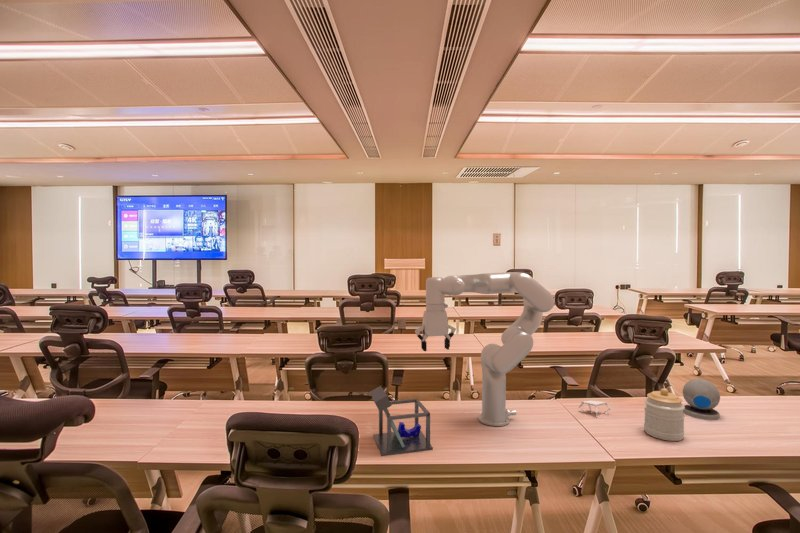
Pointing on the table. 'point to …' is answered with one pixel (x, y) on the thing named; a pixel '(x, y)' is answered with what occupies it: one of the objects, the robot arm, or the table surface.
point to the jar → (664, 415)
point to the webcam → (701, 399)
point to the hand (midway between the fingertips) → (435, 349)
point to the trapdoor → (384, 408)
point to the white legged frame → (594, 403)
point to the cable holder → (408, 430)
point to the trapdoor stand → (392, 446)
